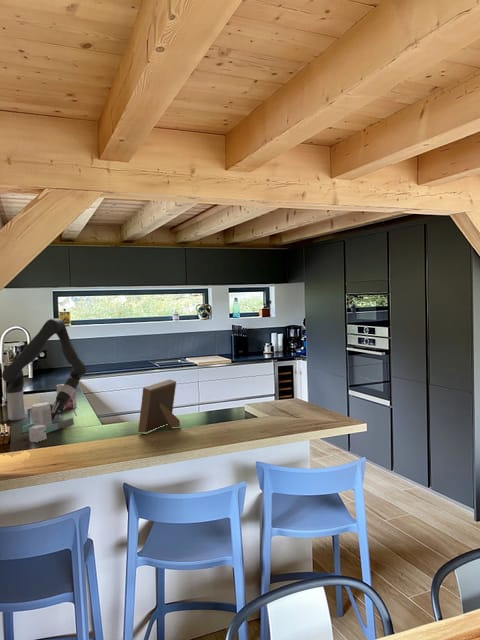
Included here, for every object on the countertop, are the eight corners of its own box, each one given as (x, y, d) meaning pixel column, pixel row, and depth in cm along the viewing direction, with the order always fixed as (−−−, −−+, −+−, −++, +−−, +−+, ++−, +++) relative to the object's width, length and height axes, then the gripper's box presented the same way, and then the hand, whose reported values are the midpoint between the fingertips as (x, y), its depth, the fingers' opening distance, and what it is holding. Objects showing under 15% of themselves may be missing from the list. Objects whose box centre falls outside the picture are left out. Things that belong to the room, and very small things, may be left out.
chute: (23, 432, 266) (22, 426, 265) (56, 421, 285) (55, 415, 284) (40, 434, 258) (40, 428, 258) (73, 423, 277) (73, 417, 276)
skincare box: (37, 442, 244) (35, 428, 243) (29, 441, 247) (28, 427, 246) (47, 439, 249) (45, 425, 249) (39, 438, 252) (38, 424, 252)
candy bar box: (77, 407, 320) (74, 383, 319) (73, 409, 315) (71, 384, 314) (61, 407, 322) (59, 383, 321) (57, 409, 317) (55, 385, 316)
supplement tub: (52, 426, 274) (50, 401, 273) (52, 430, 265) (50, 404, 264) (34, 429, 270) (32, 403, 270) (33, 433, 262) (31, 407, 261)
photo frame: (138, 434, 245) (134, 386, 244) (164, 423, 264) (161, 378, 263) (160, 437, 238) (157, 388, 236) (186, 425, 257) (183, 380, 255)
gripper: (53, 390, 282) (38, 415, 273) (69, 391, 276) (53, 417, 266) (62, 396, 287) (46, 422, 278) (77, 398, 281) (62, 424, 271)
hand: (50, 420), depth 272 cm, fingers closed
